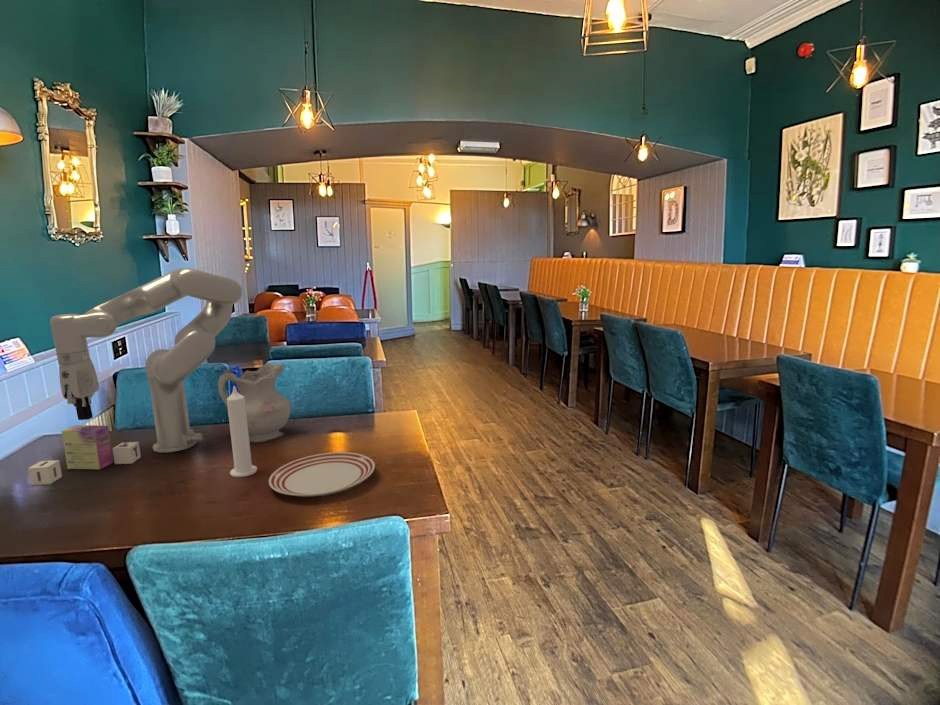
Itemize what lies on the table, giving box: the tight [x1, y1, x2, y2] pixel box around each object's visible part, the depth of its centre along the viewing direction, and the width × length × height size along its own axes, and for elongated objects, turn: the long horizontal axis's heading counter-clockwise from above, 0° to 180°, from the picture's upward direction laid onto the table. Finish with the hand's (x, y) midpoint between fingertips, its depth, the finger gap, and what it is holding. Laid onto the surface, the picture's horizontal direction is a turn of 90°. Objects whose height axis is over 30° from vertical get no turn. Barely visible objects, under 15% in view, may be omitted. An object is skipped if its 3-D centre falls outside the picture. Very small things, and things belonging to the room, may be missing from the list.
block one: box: [27, 459, 63, 486], centre depth 154 cm, size 5×5×5 cm
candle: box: [226, 385, 258, 478], centre depth 154 cm, size 7×7×25 cm
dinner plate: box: [268, 451, 376, 497], centre depth 148 cm, size 28×27×3 cm
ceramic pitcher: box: [217, 362, 291, 443], centre depth 183 cm, size 22×20×25 cm
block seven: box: [111, 441, 142, 465], centre depth 167 cm, size 5×5×5 cm
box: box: [61, 424, 114, 471], centre depth 163 cm, size 10×6×12 cm, turn 84°
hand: (85, 418), depth 162 cm, fingers closed
